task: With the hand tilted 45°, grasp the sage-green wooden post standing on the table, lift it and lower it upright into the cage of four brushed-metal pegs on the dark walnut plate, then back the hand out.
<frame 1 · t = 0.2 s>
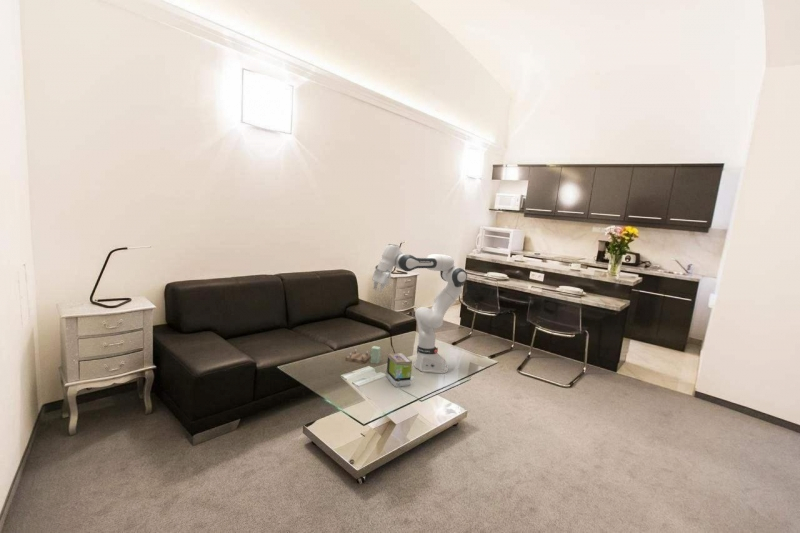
hand: (376, 290, 221), 52 cm above the table, tool tilted 20°, fingers open, 8 cm apart
walnut peg plate: (358, 359, 247), on the table
sage post: (375, 361, 244), on the table
tea box: (398, 381, 215), on the table
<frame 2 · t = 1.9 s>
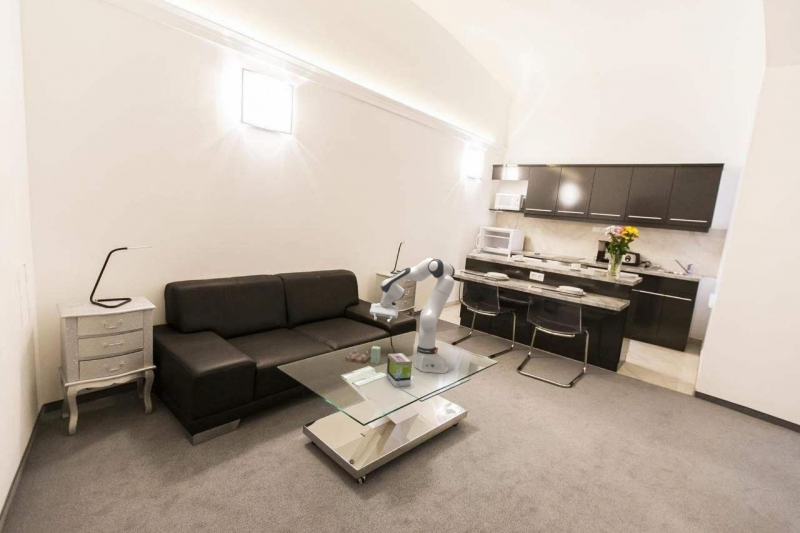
hand: (381, 321, 252), 26 cm above the table, tool tilted 45°, fingers open, 8 cm apart
nothing on the table moved.
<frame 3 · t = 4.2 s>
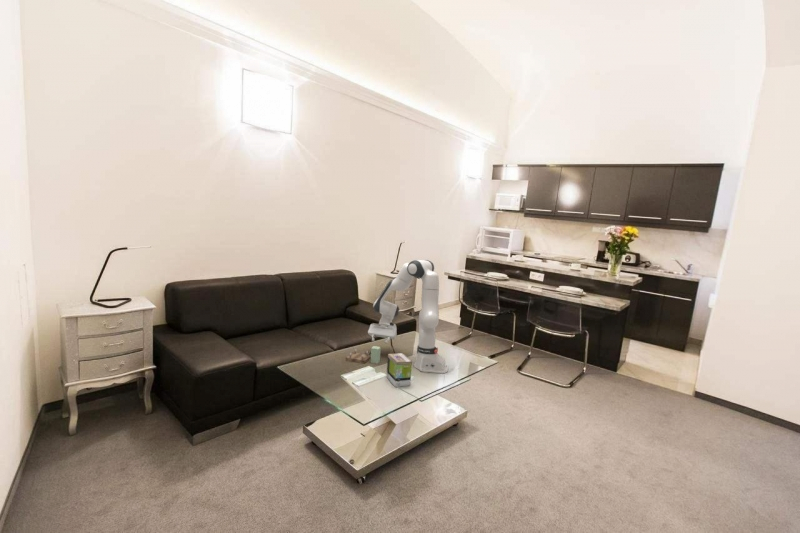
hand: (379, 342, 250), 12 cm above the table, tool tilted 45°, fingers open, 8 cm apart
nothing on the table moved.
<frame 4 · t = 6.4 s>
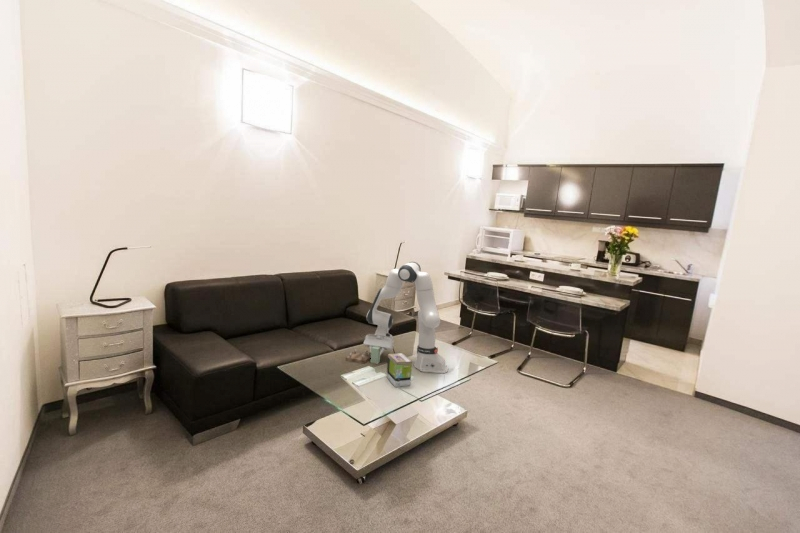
hand: (375, 353, 243), 6 cm above the table, tool tilted 45°, fingers closed on sage post, 5 cm apart
sage post: (375, 361, 244), on the table, touching gripper
everything else where it was.
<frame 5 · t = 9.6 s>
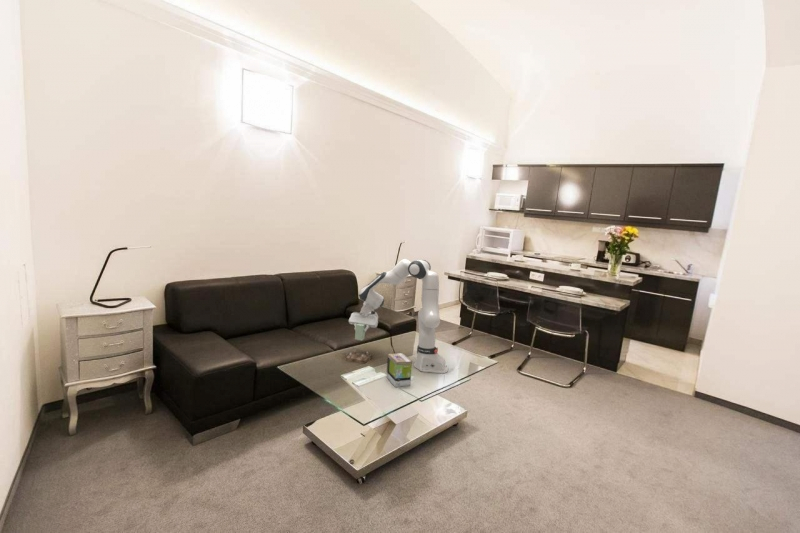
hand: (359, 330, 245), 20 cm above the table, tool tilted 45°, fingers closed on sage post, 5 cm apart
sage post: (359, 338, 246), point 14 cm above the table, touching gripper
everything else where it was.
when the fingers open (9 cm above the table, at t = 12.9 s): sage post drops 1 cm, resting on walnut peg plate.
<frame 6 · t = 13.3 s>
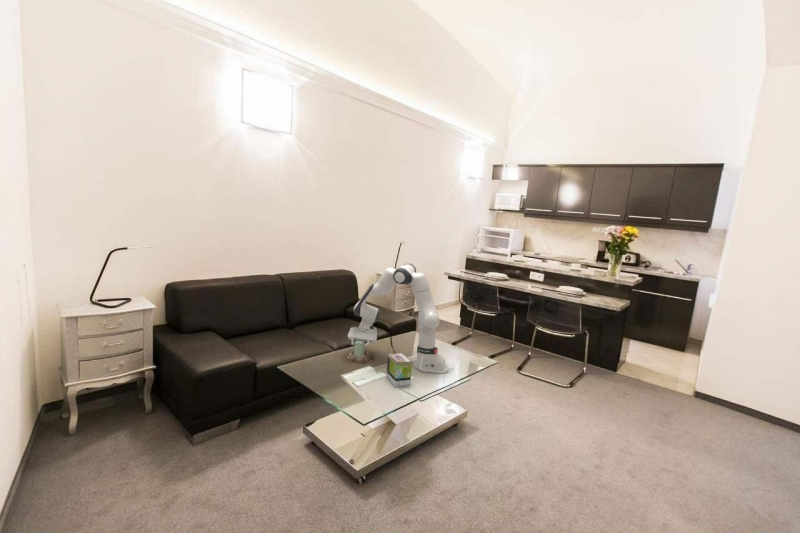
hand: (358, 346, 246), 9 cm above the table, tool tilted 45°, fingers open, 8 cm apart
sage post: (358, 356, 247), point 2 cm above the table, touching walnut peg plate
everything else where it was.
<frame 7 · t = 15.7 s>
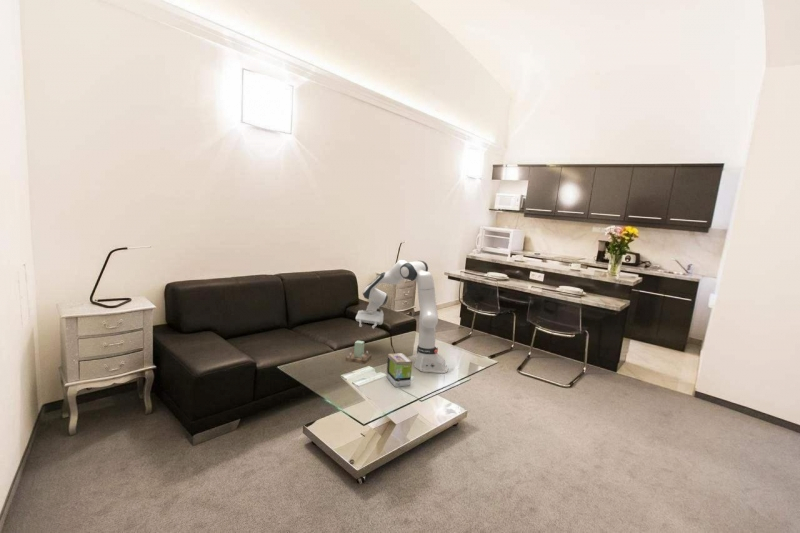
hand: (366, 327, 257), 19 cm above the table, tool tilted 45°, fingers open, 8 cm apart
nothing on the table moved.
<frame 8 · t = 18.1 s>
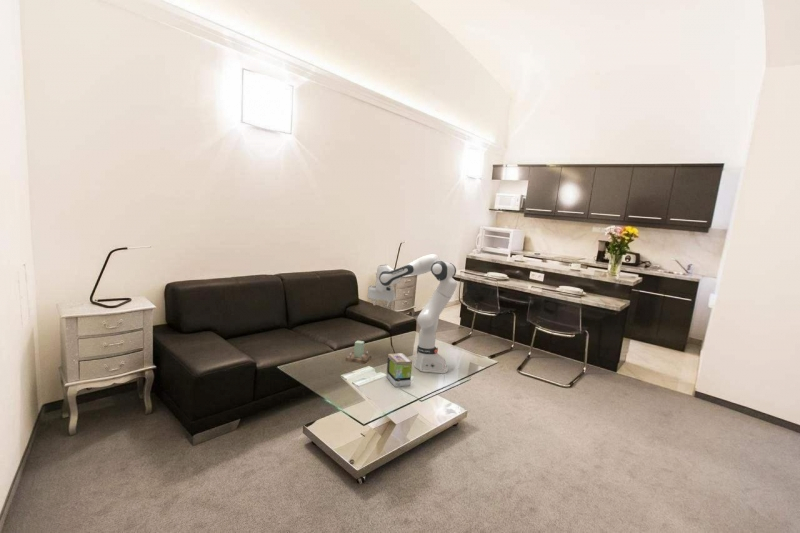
hand: (380, 305, 261), 34 cm above the table, tool pointing down, fingers open, 8 cm apart
nothing on the table moved.
at the end: sage post 0.1 cm off-centre on the walnut peg plate, point 2.0 cm above the walnut peg plate's base; sage post tilted 0°; the gripper is holding nothing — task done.
